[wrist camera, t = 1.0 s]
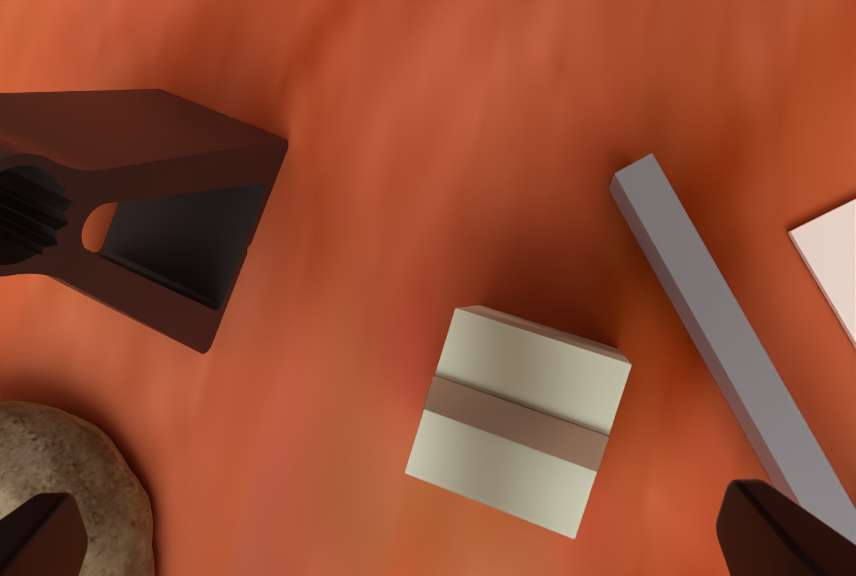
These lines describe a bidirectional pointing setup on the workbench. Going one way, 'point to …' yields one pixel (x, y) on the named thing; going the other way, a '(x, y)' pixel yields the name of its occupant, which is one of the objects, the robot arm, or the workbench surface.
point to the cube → (519, 416)
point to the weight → (77, 483)
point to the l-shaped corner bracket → (748, 330)
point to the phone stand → (134, 200)
